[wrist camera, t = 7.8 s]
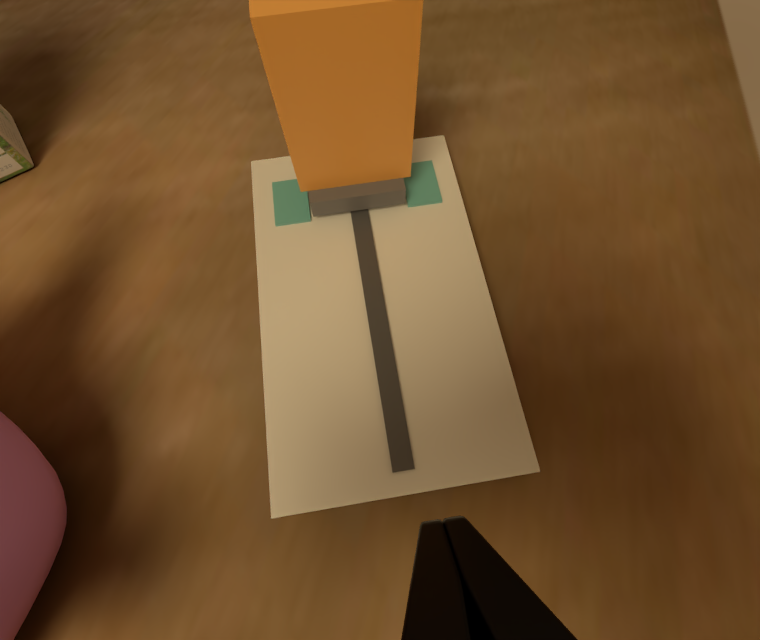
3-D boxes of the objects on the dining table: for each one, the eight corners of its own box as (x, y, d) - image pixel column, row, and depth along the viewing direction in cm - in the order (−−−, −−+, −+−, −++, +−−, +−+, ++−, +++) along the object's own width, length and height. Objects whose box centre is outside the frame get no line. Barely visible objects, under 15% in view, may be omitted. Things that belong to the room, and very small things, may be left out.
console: (529, 473, 20) (542, 471, 19) (279, 516, 20) (269, 519, 18) (440, 153, 28) (444, 132, 26) (258, 178, 27) (250, 158, 25)
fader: (412, 202, 24) (428, 11, 14) (306, 217, 23) (251, 33, 14) (399, 148, 25) (406, -57, 16) (299, 162, 25) (246, -39, 15)
